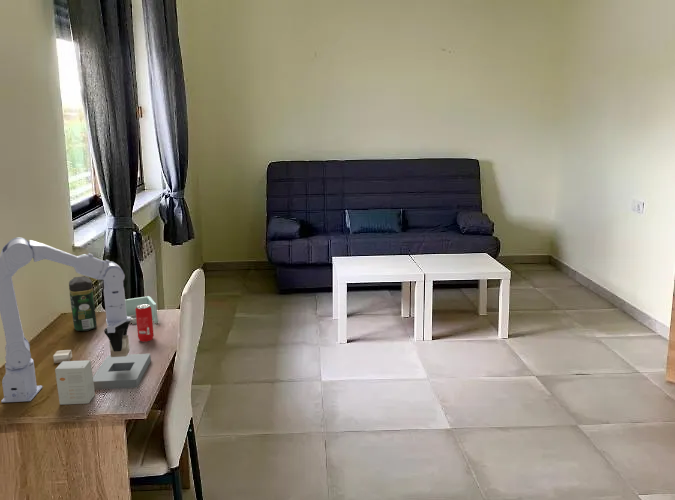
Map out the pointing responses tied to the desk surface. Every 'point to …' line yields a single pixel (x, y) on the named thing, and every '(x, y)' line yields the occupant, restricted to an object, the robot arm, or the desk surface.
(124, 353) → the cream square block
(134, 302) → the l-shaped corner panel
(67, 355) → the short peg
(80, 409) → the desk surface
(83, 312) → the coffee jar
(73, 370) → the small box
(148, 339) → the beverage can
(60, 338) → the desk surface
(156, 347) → the desk surface
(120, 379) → the hole board
